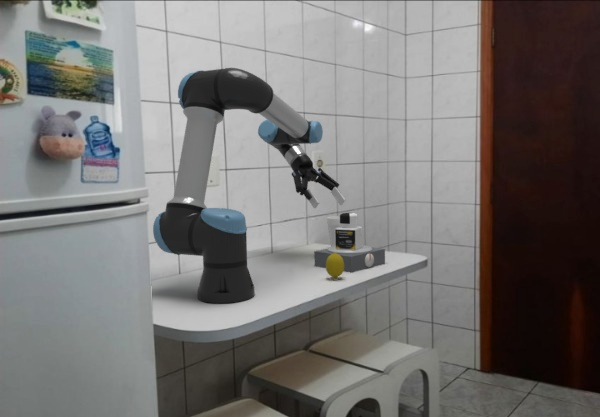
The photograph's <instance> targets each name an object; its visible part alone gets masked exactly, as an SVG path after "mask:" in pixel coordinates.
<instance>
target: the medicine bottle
mask: <svg viewBox="0 0 600 417" xmlns="http://www.w3.org/2000/svg"><path fill="white" fill-rule="evenodd" d="M339 216H340V225H341V227H339V228H336V229H335V236H336V249H339V250H357V249H359V248H361V247H362V245H363V227H362V226H360V225H359V221H358V220H359V219H358V216H359V215H358V214H357V213H355V212H344V213H343V212H342V213H340V215H339ZM358 225H359V226H358Z"/></svg>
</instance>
